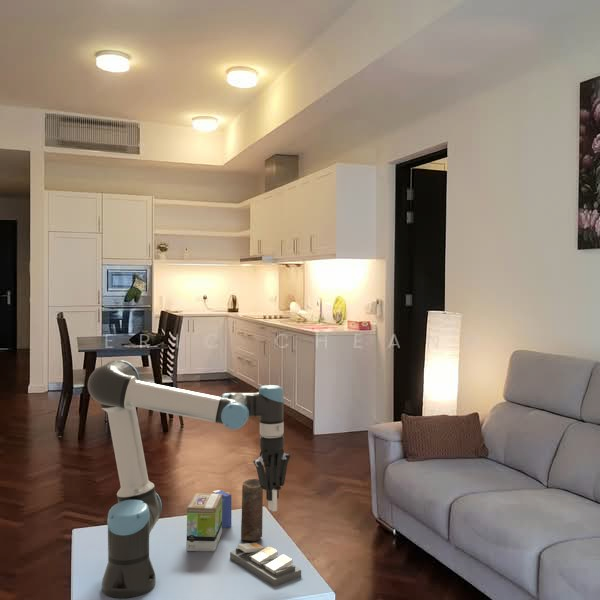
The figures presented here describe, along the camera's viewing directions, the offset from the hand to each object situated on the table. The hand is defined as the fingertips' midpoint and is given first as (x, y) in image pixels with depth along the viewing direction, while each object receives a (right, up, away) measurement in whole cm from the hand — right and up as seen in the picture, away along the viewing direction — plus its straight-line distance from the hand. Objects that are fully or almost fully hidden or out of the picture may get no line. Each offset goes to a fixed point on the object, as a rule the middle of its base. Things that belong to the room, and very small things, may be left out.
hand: (272, 509), depth 198 cm
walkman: (-20, -17, +33) cm, 42 cm away
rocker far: (-7, -14, +4) cm, 16 cm away
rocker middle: (-2, -14, -1) cm, 14 cm away
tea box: (-24, -17, +17) cm, 34 cm away
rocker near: (+2, -14, -7) cm, 16 cm away
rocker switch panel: (-2, -17, -1) cm, 18 cm away
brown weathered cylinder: (-8, -17, +20) cm, 27 cm away
